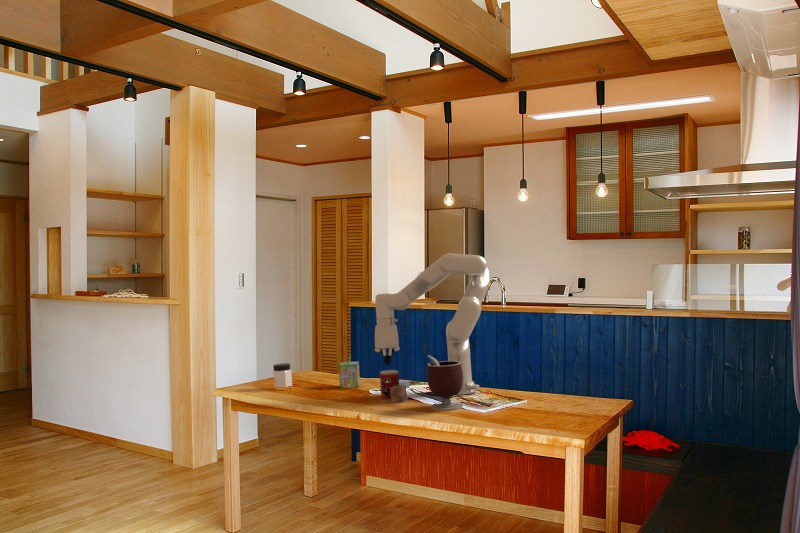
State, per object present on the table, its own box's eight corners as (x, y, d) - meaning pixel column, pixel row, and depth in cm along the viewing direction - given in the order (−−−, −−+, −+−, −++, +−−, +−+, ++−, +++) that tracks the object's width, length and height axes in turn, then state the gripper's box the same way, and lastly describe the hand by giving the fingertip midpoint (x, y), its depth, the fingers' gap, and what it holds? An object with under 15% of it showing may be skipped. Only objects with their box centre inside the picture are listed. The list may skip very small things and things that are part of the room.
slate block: (409, 391, 298) (409, 380, 298) (399, 394, 295) (398, 382, 295) (401, 390, 303) (400, 379, 303) (391, 392, 299) (390, 381, 299)
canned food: (378, 396, 291) (377, 371, 291) (395, 394, 294) (393, 369, 294) (385, 399, 284) (384, 373, 284) (402, 396, 287) (401, 371, 287)
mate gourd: (472, 405, 260) (468, 354, 260) (448, 412, 250) (445, 359, 250) (442, 401, 271) (439, 352, 271) (418, 408, 261) (415, 357, 261)
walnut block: (407, 399, 280) (406, 385, 280) (403, 402, 276) (402, 387, 276) (395, 399, 282) (394, 385, 282) (391, 402, 277) (390, 387, 277)
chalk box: (341, 385, 326) (339, 355, 326) (360, 384, 326) (358, 354, 326) (339, 389, 317) (337, 358, 317) (358, 388, 316) (356, 356, 316)
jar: (272, 389, 330) (270, 364, 330) (288, 386, 334) (286, 362, 334) (278, 391, 322) (276, 366, 322) (294, 389, 326) (292, 364, 326)
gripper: (403, 320, 293) (405, 362, 293) (368, 322, 293) (371, 364, 293) (402, 321, 285) (405, 364, 285) (367, 323, 286) (370, 366, 285)
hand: (388, 364), depth 289 cm, fingers closed
